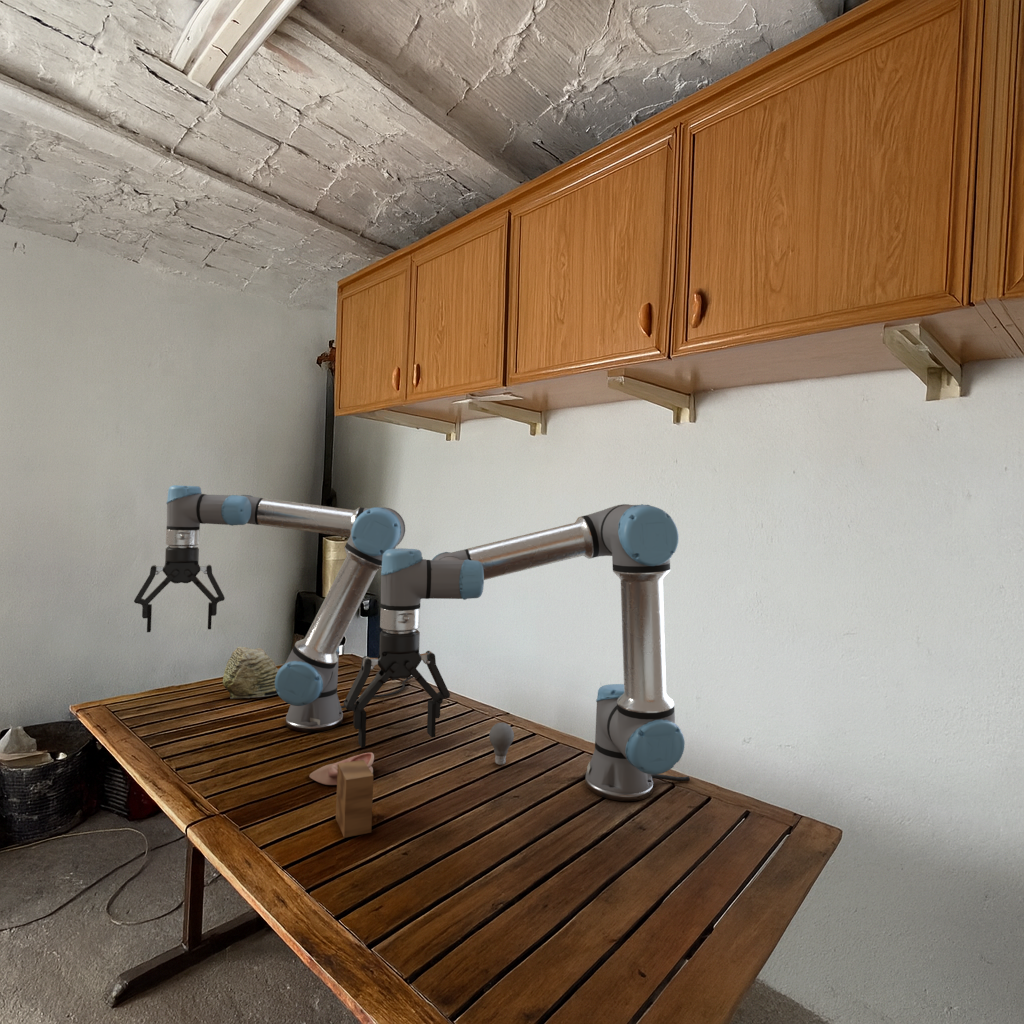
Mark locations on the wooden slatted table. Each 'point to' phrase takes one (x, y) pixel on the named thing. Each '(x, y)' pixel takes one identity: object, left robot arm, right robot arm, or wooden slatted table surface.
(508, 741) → the light bulb
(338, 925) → the wooden slatted table surface
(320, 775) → the anatomical model
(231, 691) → the fossil
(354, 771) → the block
